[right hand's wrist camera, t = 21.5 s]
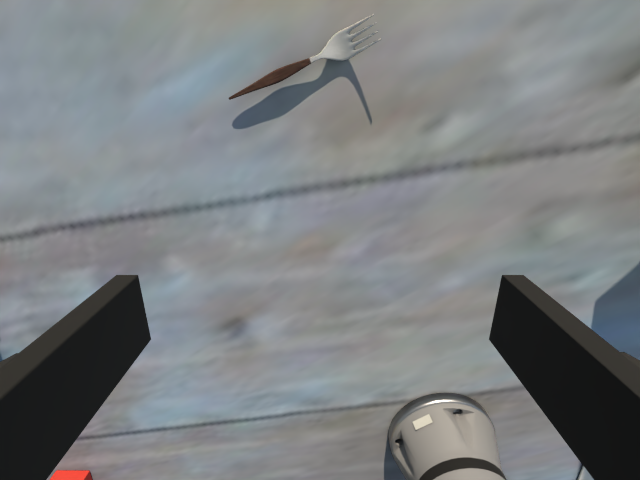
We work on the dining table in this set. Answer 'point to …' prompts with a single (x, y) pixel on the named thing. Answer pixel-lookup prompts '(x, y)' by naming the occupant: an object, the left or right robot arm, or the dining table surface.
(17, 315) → the dining table surface
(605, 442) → the right robot arm
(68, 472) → the brick
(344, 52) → the fork
